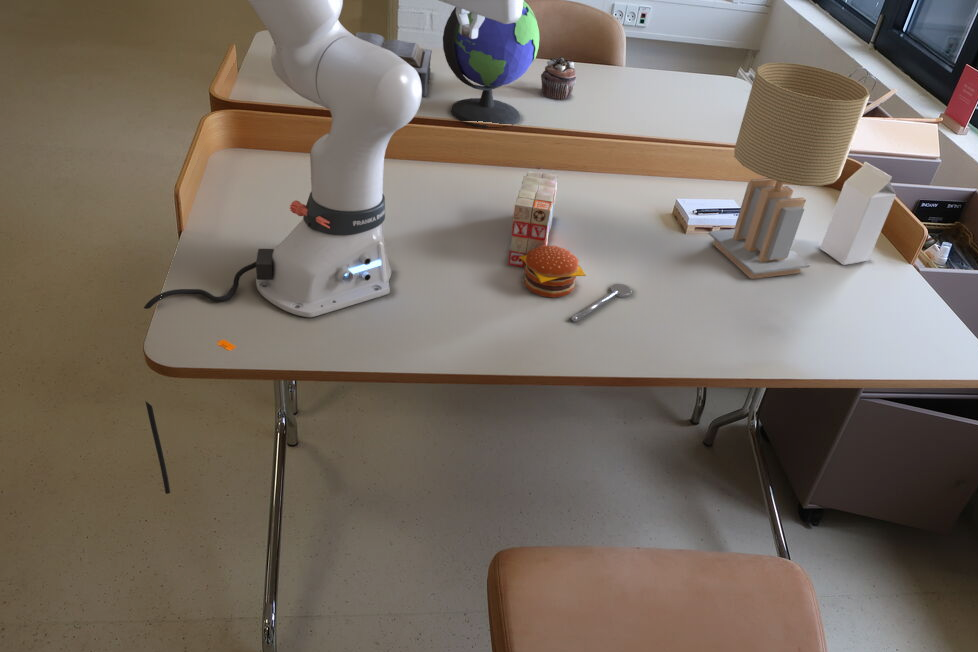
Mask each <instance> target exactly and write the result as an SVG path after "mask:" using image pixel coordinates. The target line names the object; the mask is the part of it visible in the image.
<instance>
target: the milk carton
mask: <svg viewBox="0 0 978 652" xmlns="http://www.w3.org/2000/svg"><path fill="white" fill-rule="evenodd" d="M892 178H893V176H892V175H890V174H888V173H886V172H885V171H884V170H882V169H879V168H878V167H876V166H874V165H872V163H869V162H867V161H864V162H863V164H862V166H861V167H860V168H859V169H858V170H856V171H855V172H853V174H852V175H851V176H850V177H848V178H847V179H846V180H845V181H844V183H843V186H842V187H841V191H840V193H839V196H838V198H837V202H836V204H835V207H834V209H833V213H832V215H831V218H830V221H829V223H828V226H827V228H826V231H825V234H824V237H823V239H822V242H821V244H820V247H819V249H820V250H821V251H822V252H824V253H825V254H827V255H828V256H830V257H831V258H833V259H834V260H836V261H837V262H838V263H840V264H841V265H842V266H846V265H852V264H857V263H864V262H868V261H869V260H870V259H871V256H872V254H873V251H874V249H875V248H876V244H877V241H878V240H879V238H880V234H881V232H882V229H883V227H884V225H885V222H886V220H887V218H888V216H889V213H890V211H891V208H892V206H893V203H894V201H895V198H896V196H897V193H896V191H895V188H894V187H893V185H892V183H891V180H892Z"/></svg>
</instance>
